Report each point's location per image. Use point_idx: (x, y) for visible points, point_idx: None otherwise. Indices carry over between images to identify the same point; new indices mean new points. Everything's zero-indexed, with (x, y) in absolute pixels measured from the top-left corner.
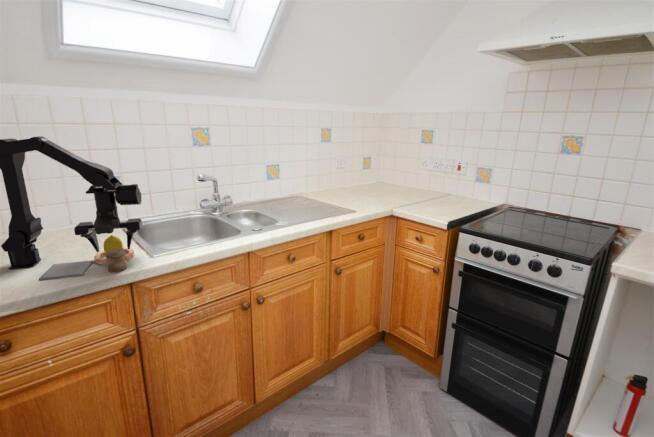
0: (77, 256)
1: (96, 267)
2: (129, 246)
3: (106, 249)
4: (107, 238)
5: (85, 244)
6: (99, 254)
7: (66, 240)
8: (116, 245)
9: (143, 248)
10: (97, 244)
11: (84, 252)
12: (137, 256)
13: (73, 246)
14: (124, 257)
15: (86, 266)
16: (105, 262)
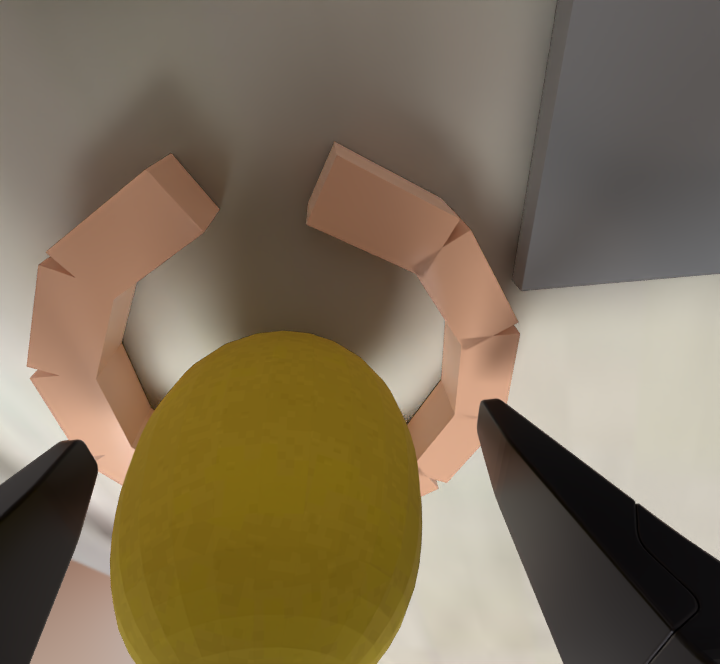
0: (657, 444)
1: (437, 32)
2: (16, 476)
3: (347, 387)
4: (342, 658)
5: None
6: (466, 398)
7: None
8: (150, 459)
9: (108, 532)
10: (525, 523)
11: None
12: (20, 357)
13: None
14: None
15: (593, 28)
16: (330, 153)
